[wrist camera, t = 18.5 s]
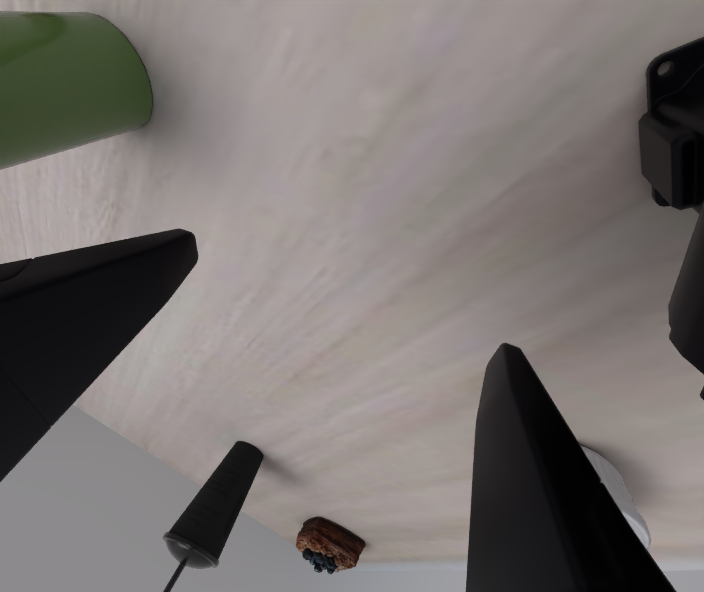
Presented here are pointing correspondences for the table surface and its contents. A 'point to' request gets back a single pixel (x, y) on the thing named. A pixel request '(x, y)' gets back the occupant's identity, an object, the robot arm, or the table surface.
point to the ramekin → (619, 494)
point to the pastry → (328, 545)
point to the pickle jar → (66, 84)
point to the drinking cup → (213, 511)
